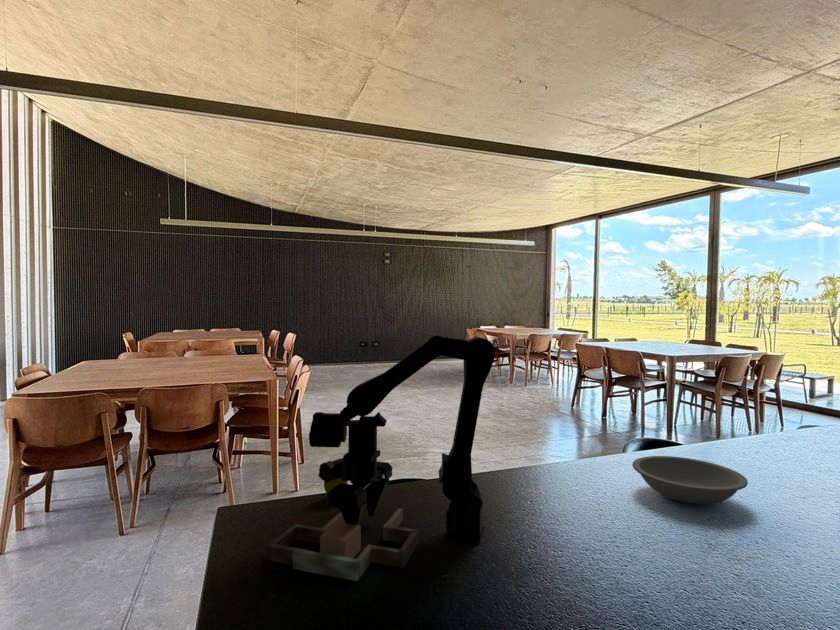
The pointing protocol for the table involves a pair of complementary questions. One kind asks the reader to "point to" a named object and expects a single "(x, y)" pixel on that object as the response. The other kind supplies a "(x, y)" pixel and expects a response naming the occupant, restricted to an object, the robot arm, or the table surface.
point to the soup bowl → (689, 479)
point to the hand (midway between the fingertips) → (362, 525)
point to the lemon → (333, 484)
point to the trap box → (339, 564)
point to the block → (341, 540)
